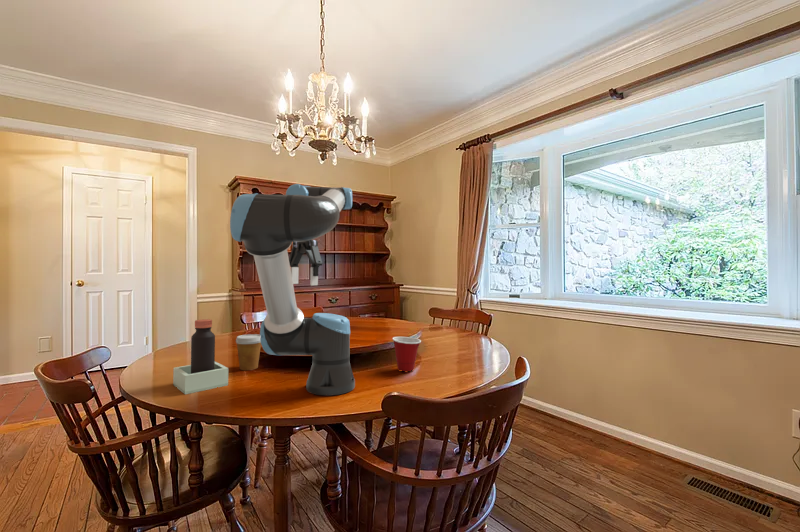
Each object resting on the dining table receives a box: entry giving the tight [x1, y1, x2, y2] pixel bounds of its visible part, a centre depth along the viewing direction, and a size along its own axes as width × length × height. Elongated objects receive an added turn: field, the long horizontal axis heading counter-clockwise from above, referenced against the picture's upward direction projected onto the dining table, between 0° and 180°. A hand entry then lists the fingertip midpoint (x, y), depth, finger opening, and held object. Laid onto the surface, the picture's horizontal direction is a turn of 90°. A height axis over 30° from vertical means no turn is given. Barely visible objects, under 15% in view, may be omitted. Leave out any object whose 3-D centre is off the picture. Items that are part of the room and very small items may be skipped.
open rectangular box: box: [172, 361, 229, 395], centre depth 118 cm, size 12×12×6 cm
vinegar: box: [190, 318, 216, 374], centre depth 118 cm, size 7×7×20 cm
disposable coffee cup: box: [235, 333, 262, 371], centre depth 138 cm, size 10×10×12 cm
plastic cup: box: [392, 336, 422, 371], centre depth 137 cm, size 11×11×12 cm
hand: (304, 284), depth 138 cm, fingers open, 13 cm apart
